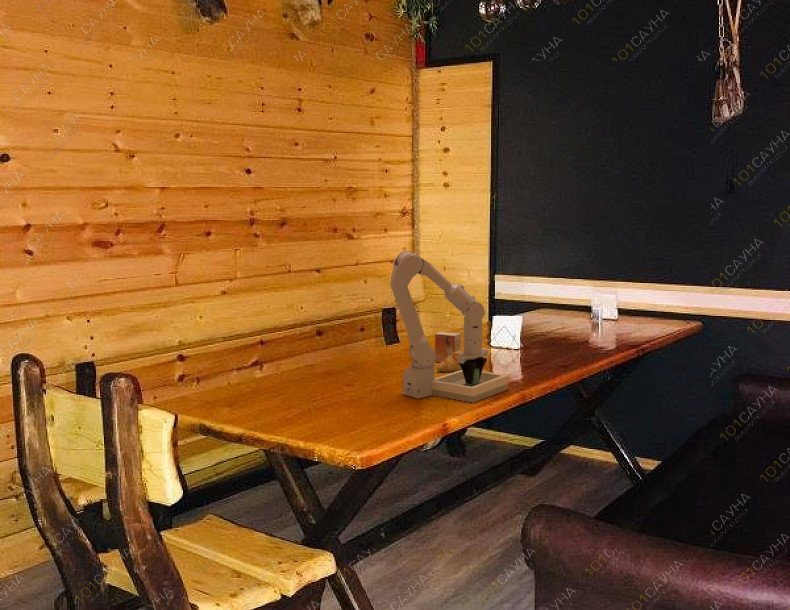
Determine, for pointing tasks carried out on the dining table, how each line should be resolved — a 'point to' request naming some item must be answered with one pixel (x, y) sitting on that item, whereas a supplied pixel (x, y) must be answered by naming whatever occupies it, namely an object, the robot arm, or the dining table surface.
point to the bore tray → (459, 389)
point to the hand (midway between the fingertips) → (472, 382)
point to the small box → (446, 344)
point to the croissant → (450, 363)
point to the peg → (475, 378)
